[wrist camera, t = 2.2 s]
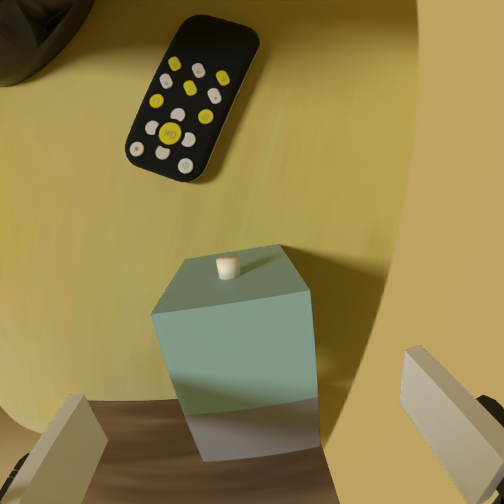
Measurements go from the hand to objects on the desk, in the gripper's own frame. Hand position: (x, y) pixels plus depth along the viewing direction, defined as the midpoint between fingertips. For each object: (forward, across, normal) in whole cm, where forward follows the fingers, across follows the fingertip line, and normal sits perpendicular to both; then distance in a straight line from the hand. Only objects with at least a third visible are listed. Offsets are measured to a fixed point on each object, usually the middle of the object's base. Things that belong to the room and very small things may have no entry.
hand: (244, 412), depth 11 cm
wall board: (+13, -7, -10) cm, 18 cm away
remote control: (+14, -1, +16) cm, 21 cm away
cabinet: (+13, 0, -1) cm, 13 cm away
